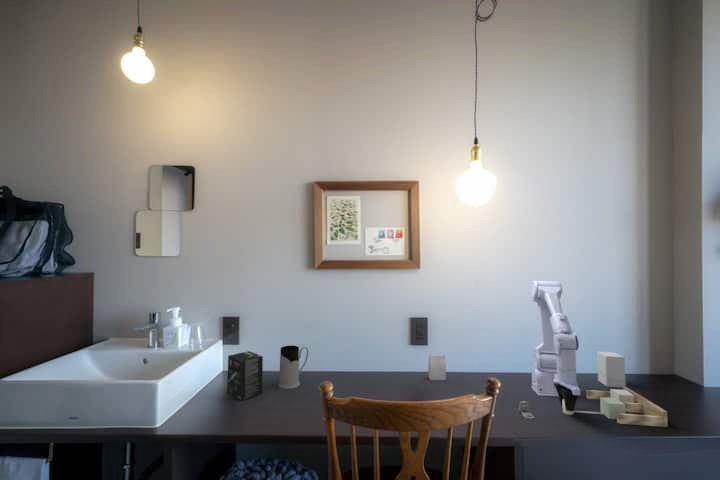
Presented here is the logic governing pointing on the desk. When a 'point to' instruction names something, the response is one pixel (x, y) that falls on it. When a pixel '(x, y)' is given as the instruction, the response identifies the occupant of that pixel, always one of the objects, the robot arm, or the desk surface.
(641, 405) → the lane rack
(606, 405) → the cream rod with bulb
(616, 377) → the supplement box
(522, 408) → the strap clip
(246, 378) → the tampon box
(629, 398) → the grey block
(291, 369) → the grey mug
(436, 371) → the beige box
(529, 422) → the desk surface
